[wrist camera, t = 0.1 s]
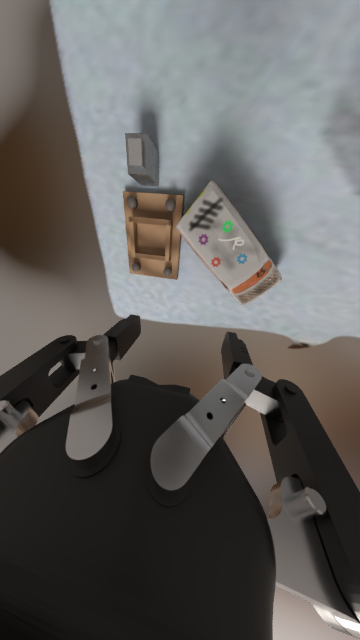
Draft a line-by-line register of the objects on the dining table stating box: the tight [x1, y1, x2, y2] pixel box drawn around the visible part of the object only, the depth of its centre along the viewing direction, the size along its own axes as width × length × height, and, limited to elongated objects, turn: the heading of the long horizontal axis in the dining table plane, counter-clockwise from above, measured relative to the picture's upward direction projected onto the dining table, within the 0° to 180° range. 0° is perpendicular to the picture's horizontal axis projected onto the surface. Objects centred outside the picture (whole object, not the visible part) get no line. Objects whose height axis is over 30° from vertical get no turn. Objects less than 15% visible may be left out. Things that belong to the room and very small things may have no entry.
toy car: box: [176, 180, 282, 305], centre depth 30 cm, size 11×25×10 cm, turn 46°
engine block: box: [125, 133, 159, 187], centre depth 27 cm, size 5×4×7 cm
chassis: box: [123, 191, 184, 280], centre depth 35 cm, size 18×14×3 cm
